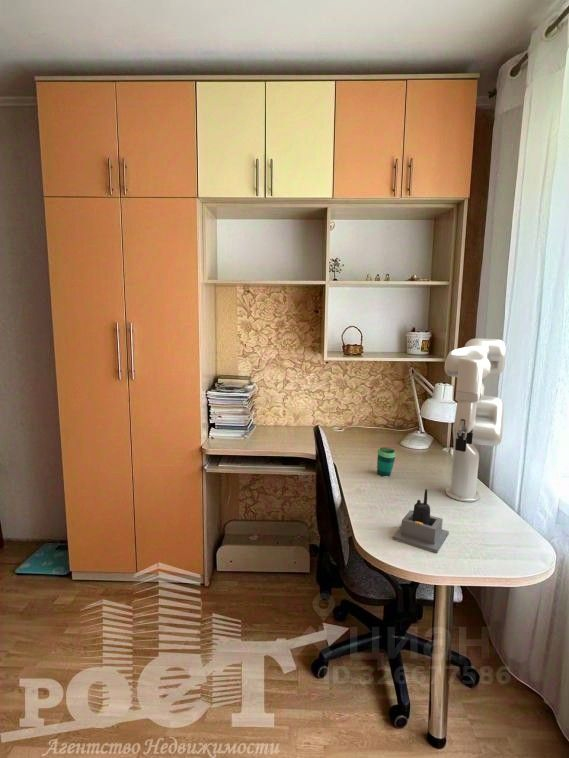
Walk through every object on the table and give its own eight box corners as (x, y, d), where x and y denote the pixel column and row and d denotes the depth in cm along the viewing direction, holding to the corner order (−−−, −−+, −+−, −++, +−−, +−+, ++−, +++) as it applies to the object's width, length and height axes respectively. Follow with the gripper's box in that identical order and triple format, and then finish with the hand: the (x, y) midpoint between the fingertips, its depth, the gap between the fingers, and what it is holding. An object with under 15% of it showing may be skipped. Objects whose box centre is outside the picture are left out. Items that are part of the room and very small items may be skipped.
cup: (388, 471, 198) (390, 445, 196) (398, 477, 190) (400, 451, 189) (372, 472, 196) (374, 447, 194) (382, 479, 188) (383, 453, 186)
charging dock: (406, 521, 151) (408, 504, 150) (448, 534, 143) (450, 515, 142) (392, 539, 139) (393, 520, 138) (437, 553, 131) (438, 533, 130)
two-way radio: (426, 530, 143) (429, 487, 141) (432, 537, 139) (435, 493, 136) (410, 530, 142) (413, 487, 140) (415, 537, 138) (419, 493, 136)
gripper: (461, 391, 150) (457, 438, 153) (449, 399, 136) (445, 451, 139) (485, 393, 146) (480, 442, 149) (475, 402, 132) (470, 456, 134)
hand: (463, 446), depth 144 cm, fingers open, 9 cm apart
